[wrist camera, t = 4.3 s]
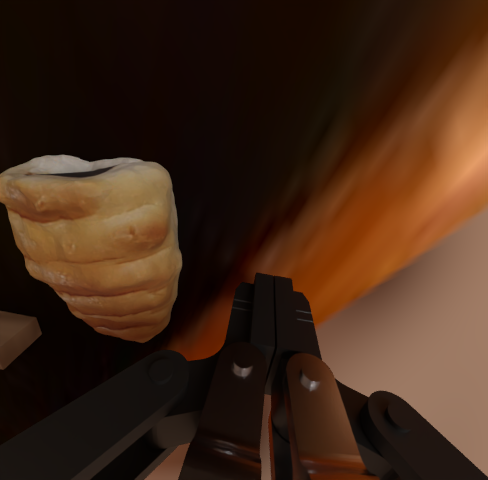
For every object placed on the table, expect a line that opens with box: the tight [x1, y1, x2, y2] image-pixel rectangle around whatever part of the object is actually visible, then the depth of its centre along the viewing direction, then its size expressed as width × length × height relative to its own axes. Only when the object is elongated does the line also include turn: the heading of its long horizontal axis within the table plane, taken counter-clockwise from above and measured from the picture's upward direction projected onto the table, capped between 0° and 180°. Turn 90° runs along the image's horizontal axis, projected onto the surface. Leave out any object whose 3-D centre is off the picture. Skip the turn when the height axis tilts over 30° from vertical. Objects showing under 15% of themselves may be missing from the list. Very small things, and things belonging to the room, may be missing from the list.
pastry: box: [0, 155, 182, 343], centre depth 10 cm, size 9×7×4 cm
